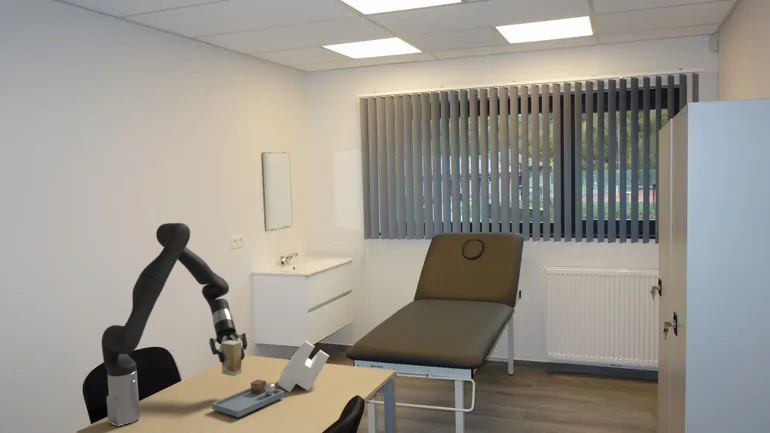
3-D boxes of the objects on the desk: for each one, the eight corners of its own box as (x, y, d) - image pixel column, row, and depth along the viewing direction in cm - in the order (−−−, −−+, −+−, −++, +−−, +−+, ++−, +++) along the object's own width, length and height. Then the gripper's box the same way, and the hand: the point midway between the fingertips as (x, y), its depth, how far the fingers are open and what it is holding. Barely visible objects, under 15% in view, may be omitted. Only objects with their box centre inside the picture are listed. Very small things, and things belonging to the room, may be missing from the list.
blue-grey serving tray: (238, 420, 204) (237, 411, 204) (212, 411, 212) (211, 403, 212) (284, 399, 222) (284, 391, 222) (259, 391, 230) (258, 384, 230)
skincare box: (221, 374, 227) (220, 342, 226) (229, 370, 231) (228, 339, 230) (234, 376, 224) (233, 344, 223) (242, 373, 228) (241, 341, 227)
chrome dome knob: (269, 397, 219) (269, 387, 219) (263, 395, 221) (262, 385, 221) (277, 394, 222) (276, 384, 221) (270, 392, 224) (269, 382, 224)
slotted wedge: (301, 399, 230) (328, 361, 229) (277, 384, 228) (304, 345, 228) (303, 387, 243) (329, 350, 243) (281, 372, 242) (306, 336, 242)
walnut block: (260, 394, 222) (259, 384, 222) (251, 393, 224) (250, 382, 224) (266, 391, 226) (266, 380, 225) (258, 389, 228) (257, 379, 227)
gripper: (206, 320, 229) (215, 358, 220) (243, 315, 236) (253, 352, 227) (203, 331, 234) (212, 369, 225) (240, 326, 241) (249, 362, 232)
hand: (232, 360), depth 226 cm, fingers closed on skincare box, 6 cm apart
